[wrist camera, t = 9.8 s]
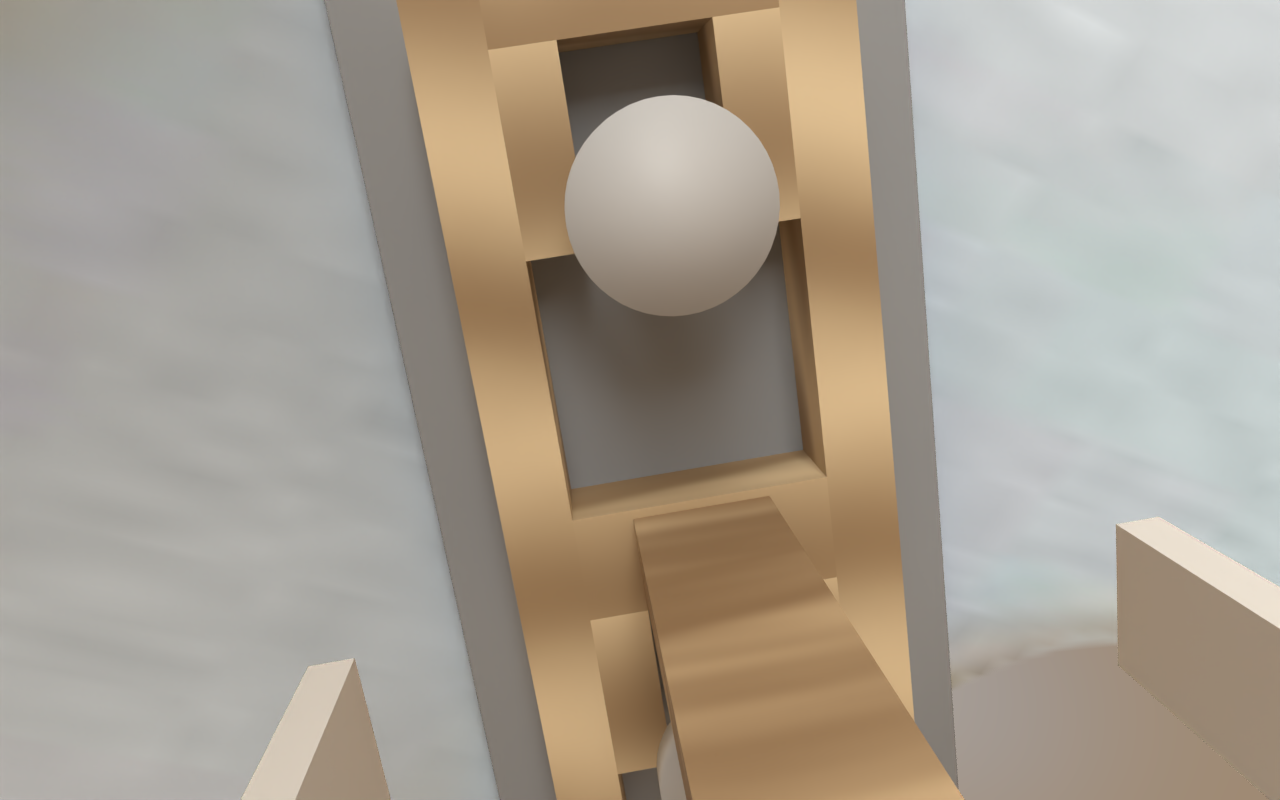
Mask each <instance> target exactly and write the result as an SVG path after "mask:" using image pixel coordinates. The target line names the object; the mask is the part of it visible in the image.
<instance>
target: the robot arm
mask: <svg viewBox="0 0 1280 800" xmlns="http://www.w3.org/2000/svg"><path fill="white" fill-rule="evenodd" d="M1116 554H1117V621H1118V666H1120V667H1121V668H1122V669H1123V670H1124V671H1125V672H1126V673H1127V674H1128V675H1130V676H1131V677H1132V678H1133V679H1134V680H1135V681H1136V682H1138V683H1139V684H1140V685H1141V686H1142V687H1143V688H1144V689H1145V690H1146V691H1148V692H1149V693H1150V694H1151V695H1152V696H1153V697H1154V698H1155V699H1157V700H1158V701H1159V702H1160V703H1161V704H1162V705H1163V706H1164V707H1166V708H1167V709H1168V710H1169V711H1170V712H1171V713H1172V714H1173V715H1175V716H1176V717H1177V718H1178V719H1179V720H1180V721H1181V722H1182V723H1184V724H1185V725H1186V726H1187V727H1188V728H1189V729H1190V730H1192V731H1193V732H1194V733H1195V734H1196V735H1197V736H1198V737H1199V738H1201V739H1202V740H1203V741H1204V742H1205V743H1206V744H1207V745H1208V746H1209V747H1211V748H1212V749H1213V750H1214V751H1215V752H1216V753H1217V754H1219V755H1220V756H1221V757H1222V758H1223V759H1224V760H1225V761H1226V762H1227V763H1229V764H1230V765H1231V766H1232V767H1233V768H1234V769H1235V770H1236V771H1238V772H1239V773H1240V774H1241V775H1242V776H1243V777H1244V778H1245V779H1247V780H1248V781H1249V782H1250V783H1251V784H1252V785H1253V786H1254V787H1256V788H1257V789H1258V790H1259V791H1260V792H1261V793H1262V794H1263V795H1265V796H1266V797H1267V798H1268V799H1269V800H1280V587H1279V586H1277V585H1275V584H1274V583H1272V582H1270V581H1269V580H1267V579H1265V578H1263V577H1262V576H1260V575H1258V574H1256V573H1255V572H1253V571H1251V570H1250V569H1248V568H1246V567H1244V566H1243V565H1241V564H1239V563H1238V562H1236V561H1234V560H1232V559H1231V558H1229V557H1227V556H1225V555H1224V554H1222V553H1220V552H1219V551H1217V550H1215V549H1213V548H1212V547H1210V546H1208V545H1206V544H1205V543H1203V542H1201V541H1200V540H1198V539H1196V538H1194V537H1193V536H1191V535H1189V534H1188V533H1186V532H1184V531H1182V530H1181V529H1179V528H1177V527H1175V526H1174V525H1172V524H1170V523H1169V522H1167V521H1165V520H1163V519H1162V518H1160V517H1155V518H1149V519H1143V520H1138V521H1132V522H1126V523H1121V524H1116ZM241 800H390V795H389V791H388V787H387V783H386V779H385V775H384V772H383V768H382V764H381V760H380V756H379V752H378V748H377V744H376V740H375V736H374V732H373V728H372V725H371V721H370V717H369V713H368V709H367V705H366V701H365V697H364V693H363V689H362V685H361V681H360V678H359V674H358V670H357V666H356V662H355V658H353V659H347V660H341V661H335V662H330V663H324V664H318V665H313V666H308V668H307V670H306V672H305V674H304V676H303V678H302V680H301V682H300V684H299V686H298V688H297V690H296V692H295V693H294V695H293V697H292V699H291V701H290V703H289V705H288V707H287V709H286V711H285V713H284V715H283V717H282V719H281V721H280V723H279V725H278V727H277V729H276V731H275V733H274V735H273V737H272V739H271V741H270V743H269V745H268V747H267V749H266V751H265V753H264V755H263V757H262V759H261V761H260V763H259V765H258V767H257V769H256V771H255V773H254V774H253V776H252V778H251V780H250V782H249V784H248V786H247V788H246V790H245V792H244V794H243V796H242V798H241Z"/></svg>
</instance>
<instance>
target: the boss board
mask: <svg viewBox="0 0 1280 800" xmlns="http://www.w3.org/2000/svg"><path fill="white" fill-rule="evenodd" d="M856 3H857V16H858V28H859V40H860V53H861V65H862V78H863V90H864V102H865V115H866V127H867V139H868V152H869V164H870V177H871V189H872V201H873V214H874V226H875V238H876V251H877V263H878V276H879V288H880V300H881V313H882V325H883V337H884V350H885V362H886V375H887V387H888V399H889V412H890V424H891V436H892V449H893V461H894V474H895V486H896V498H897V511H898V523H899V535H900V548H901V560H902V573H903V585H904V597H905V610H906V622H907V634H908V647H909V659H910V672H911V684H912V696H913V709H914V721H915V723H916V725H917V726H918V728H919V730H920V731H921V733H922V734H923V736H924V737H925V739H926V740H927V742H928V744H929V745H930V747H931V748H932V750H933V751H934V753H935V754H936V756H937V758H938V759H939V761H940V762H941V764H942V765H943V767H944V768H945V770H946V772H947V773H948V775H949V776H950V778H951V779H952V781H953V782H954V784H955V786H956V787H957V789H958V777H957V763H956V748H955V734H954V733H955V732H954V718H953V704H952V688H951V674H950V659H949V644H948V630H947V615H946V600H945V585H944V571H943V556H942V541H941V527H940V512H939V497H938V482H937V468H936V453H935V438H934V424H933V409H932V394H931V380H930V365H929V350H928V335H927V321H926V306H925V291H924V277H923V262H922V247H921V233H920V218H919V203H918V188H917V174H916V159H915V144H914V130H913V115H912V100H911V85H910V71H909V56H908V41H907V27H906V12H905V0H856ZM325 5H326V9H327V14H328V18H329V23H330V27H331V32H332V36H333V41H334V46H335V50H336V55H337V59H338V64H339V68H340V73H341V78H342V82H343V87H344V91H345V96H346V100H347V105H348V109H349V114H350V119H351V123H352V128H353V132H354V137H355V141H356V146H357V150H358V155H359V160H360V164H361V169H362V173H363V178H364V182H365V187H366V191H367V196H368V201H369V205H370V210H371V214H372V219H373V223H374V228H375V233H376V237H377V242H378V246H379V251H380V255H381V260H382V264H383V269H384V274H385V278H386V283H387V287H388V292H389V296H390V301H391V305H392V310H393V315H394V319H395V324H396V328H397V333H398V337H399V342H400V346H401V351H402V356H403V360H404V365H405V369H406V374H407V378H408V383H409V388H410V392H411V397H412V401H413V406H414V410H415V415H416V419H417V424H418V429H419V433H420V438H421V442H422V447H423V451H424V456H425V460H426V465H427V470H428V474H429V479H430V483H431V488H432V492H433V497H434V501H435V506H436V511H437V515H438V520H439V524H440V529H441V533H442V538H443V543H444V547H445V552H446V556H447V561H448V565H449V570H450V574H451V579H452V584H453V588H454V593H455V597H456V602H457V606H458V611H459V615H460V620H461V625H462V629H463V634H464V638H465V643H466V647H467V652H468V656H469V661H470V666H471V670H472V675H473V679H474V684H475V688H476V693H477V698H478V702H479V707H480V711H481V716H482V720H483V725H484V729H485V734H486V739H487V743H488V748H489V752H490V757H491V761H492V766H493V770H494V775H495V780H496V784H497V789H498V793H499V798H500V800H557V798H556V793H555V788H554V783H553V778H552V773H551V769H550V764H549V759H548V754H547V749H546V744H545V739H544V734H543V729H542V724H541V719H540V714H539V709H538V704H537V699H536V694H535V689H534V684H533V679H532V674H531V669H530V664H529V659H528V654H527V649H526V644H525V639H524V634H523V629H522V624H521V619H520V614H519V609H518V604H517V599H516V594H515V589H514V584H513V579H512V574H511V569H510V564H509V559H508V554H507V549H506V544H505V539H504V534H503V530H502V525H501V520H500V515H499V510H498V505H497V500H496V495H495V490H494V485H493V480H492V475H491V470H490V465H489V460H488V455H487V450H486V445H485V440H484V435H483V430H482V425H481V420H480V415H479V410H478V405H477V400H476V395H475V390H474V385H473V380H472V375H471V370H470V365H469V360H468V355H467V350H466V345H465V340H464V335H463V330H462V325H461V320H460V315H459V310H458V305H457V300H456V295H455V291H454V286H453V281H452V276H451V271H450V266H449V261H448V256H447V251H446V246H445V241H444V236H443V231H442V226H441V221H440V216H439V211H438V206H437V201H436V196H435V191H434V186H433V181H432V176H431V171H430V166H429V161H428V156H427V151H426V146H425V141H424V136H423V131H422V126H421V121H420V116H419V111H418V106H417V101H416V96H415V91H414V86H413V81H412V76H411V71H410V66H409V61H408V56H407V51H406V47H405V42H404V37H403V32H402V27H401V22H400V17H399V12H398V7H397V2H396V0H325ZM559 59H560V65H561V72H562V78H563V84H564V90H565V96H566V103H567V109H568V115H569V121H570V128H571V134H572V140H573V146H574V152H575V160H574V162H573V164H572V167H571V169H570V173H569V176H568V180H567V184H566V191H565V206H564V209H565V219H566V227H567V231H568V236H569V240H570V243H571V245H572V248H573V251H574V253H575V254H570V255H564V256H557V257H551V258H545V259H538V260H532V261H531V266H532V271H533V277H534V283H535V288H536V294H537V299H538V305H539V311H540V316H541V322H542V328H543V333H544V339H545V344H546V350H547V356H548V361H549V367H550V373H551V378H552V384H553V389H554V395H555V401H556V406H557V412H558V418H559V423H560V429H561V434H562V440H563V446H564V451H565V457H566V462H567V468H568V474H569V479H570V485H571V489H575V488H581V487H587V486H593V485H599V484H605V483H611V482H616V481H622V480H628V479H634V478H640V477H646V476H652V475H658V474H664V473H670V472H675V471H681V470H687V469H693V468H699V467H705V466H711V465H717V464H723V463H729V462H734V461H740V460H746V459H752V458H758V457H764V456H770V455H776V454H782V453H788V452H794V451H799V450H803V444H802V434H801V425H800V416H799V406H798V397H797V388H796V379H795V369H794V360H793V351H792V341H791V332H790V323H789V313H788V304H787V295H786V285H785V276H784V267H783V257H782V248H781V239H780V229H779V211H780V198H779V188H778V182H777V177H776V174H775V171H774V167H773V164H772V162H771V160H770V158H769V155H768V153H767V151H766V150H765V148H764V146H763V145H762V143H761V142H760V140H759V139H758V137H757V136H756V135H755V134H754V132H753V131H752V130H751V129H750V128H749V127H748V126H747V125H746V124H745V123H744V122H743V121H742V120H741V119H739V118H738V117H737V116H735V115H734V114H732V113H731V112H730V111H728V110H726V109H724V108H722V107H721V106H719V105H717V104H715V103H712V102H709V101H706V100H705V92H704V84H703V75H702V67H701V59H700V51H699V43H698V35H697V32H696V33H689V34H682V35H676V36H669V37H662V38H655V39H648V40H642V41H635V42H628V43H621V44H614V45H608V46H601V47H594V48H587V49H581V50H574V51H567V52H560V53H559ZM648 613H649V611H648ZM649 619H650V616H649ZM650 625H651V621H650ZM651 632H652V638H653V644H654V650H655V657H656V663H657V669H658V675H659V681H660V688H661V694H662V700H663V706H664V713H665V719H666V725H667V728H666V730H665V732H664V734H663V736H662V739H661V742H660V744H659V749H658V753H657V767H655V768H649V769H644V770H639V771H633V772H628V773H622V777H623V783H624V789H625V794H626V800H686V795H685V790H684V785H683V780H682V775H681V770H680V765H679V760H678V755H677V750H676V745H675V740H674V735H673V730H672V725H671V720H670V715H669V710H668V705H667V700H666V695H665V690H664V685H663V680H662V675H661V671H660V666H659V661H658V656H657V651H656V646H655V641H654V636H653V631H652V626H651Z"/></svg>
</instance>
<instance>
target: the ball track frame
mask: <svg viewBox="0 0 1280 800" xmlns="http://www.w3.org/2000/svg"><path fill="white" fill-rule="evenodd" d="M396 2H397V7H398V12H399V17H400V22H401V27H402V32H403V37H404V42H405V47H406V51H407V56H408V61H409V66H410V71H411V76H412V81H413V86H414V91H415V96H416V101H417V106H418V111H419V116H420V121H421V126H422V131H423V136H424V141H425V146H426V151H427V156H428V161H429V166H430V171H431V176H432V181H433V186H434V191H435V196H436V201H437V206H438V211H439V216H440V221H441V226H442V231H443V236H444V241H445V246H446V251H447V256H448V261H449V266H450V271H451V276H452V281H453V286H454V291H455V295H456V300H457V305H458V310H459V315H460V320H461V325H462V330H463V335H464V340H465V345H466V350H467V355H468V360H469V365H470V370H471V375H472V380H473V385H474V390H475V395H476V400H477V405H478V410H479V415H480V420H481V425H482V430H483V435H484V440H485V445H486V450H487V455H488V460H489V465H490V470H491V475H492V480H493V485H494V490H495V495H496V500H497V505H498V510H499V515H500V520H501V525H502V530H503V534H504V539H505V544H506V549H507V554H508V559H509V564H510V569H511V574H512V579H513V584H514V589H515V594H516V599H517V604H518V609H519V614H520V619H521V624H522V629H523V634H524V639H525V644H526V649H527V654H528V659H529V664H530V669H531V674H532V679H533V684H534V689H535V694H536V699H537V704H538V709H539V714H540V719H541V724H542V729H543V734H544V739H545V744H546V749H547V754H548V759H549V764H550V769H551V773H552V778H553V783H554V788H555V793H556V798H557V800H626V794H625V789H624V783H623V777H622V773H628V772H633V771H639V770H644V769H649V768H655V767H657V753H658V749H659V744H660V742H661V739H662V736H663V734H664V732H665V730H666V728H667V725H666V719H665V713H664V706H663V700H662V694H661V688H660V681H659V675H658V669H657V663H656V657H655V650H654V644H653V638H652V632H651V626H652V631H653V636H654V641H655V646H656V651H657V656H658V661H659V666H660V671H661V675H662V680H663V685H664V690H665V695H666V700H667V705H668V710H669V715H670V720H671V725H672V730H673V735H674V740H675V745H676V750H677V755H678V760H679V765H680V770H681V775H682V780H683V785H684V790H685V795H686V800H964V798H963V796H962V795H961V793H960V792H959V790H958V789H957V787H956V786H955V784H954V782H953V781H952V779H951V778H950V776H949V775H948V773H947V772H946V770H945V768H944V767H943V765H942V764H941V762H940V761H939V759H938V758H937V756H936V754H935V753H934V751H933V750H932V748H931V747H930V745H929V744H928V742H927V740H926V739H925V737H924V736H923V734H922V733H921V731H920V730H919V728H918V726H917V725H916V723H915V721H914V709H913V696H912V684H911V672H910V659H909V647H908V634H907V622H906V610H905V597H904V585H903V573H902V560H901V548H900V535H899V523H898V511H897V498H896V486H895V474H894V461H893V449H892V436H891V424H890V412H889V399H888V387H887V375H886V362H885V350H884V337H883V325H882V313H881V300H880V288H879V276H878V263H877V251H876V238H875V226H874V214H873V201H872V189H871V177H870V164H869V152H868V139H867V127H866V115H865V102H864V90H863V78H862V65H861V53H860V40H859V28H858V16H857V3H856V0H396ZM696 32H697V35H698V43H699V51H700V59H701V67H702V75H703V84H704V92H705V100H706V101H709V102H712V103H715V104H717V105H719V106H721V107H722V108H724V109H726V110H728V111H730V112H731V113H732V114H734V115H735V116H737V117H738V118H739V119H741V120H742V121H743V122H744V123H745V124H746V125H747V126H748V127H749V128H750V129H751V130H752V131H753V132H754V134H755V135H756V136H757V137H758V139H759V140H760V142H761V143H762V145H763V146H764V148H765V150H766V151H767V153H768V155H769V158H770V160H771V162H772V164H773V167H774V171H775V174H776V177H777V182H778V188H779V198H780V211H779V229H780V239H781V248H782V257H783V267H784V276H785V285H786V295H787V304H788V313H789V323H790V332H791V341H792V351H793V360H794V369H795V379H796V388H797V397H798V406H799V416H800V425H801V434H802V444H803V450H799V451H794V452H788V453H782V454H776V455H770V456H764V457H758V458H752V459H746V460H740V461H734V462H729V463H723V464H717V465H711V466H705V467H699V468H693V469H687V470H681V471H675V472H670V473H664V474H658V475H652V476H646V477H640V478H634V479H628V480H622V481H616V482H611V483H605V484H599V485H593V486H587V487H581V488H575V489H571V485H570V479H569V474H568V468H567V462H566V457H565V451H564V446H563V440H562V434H561V429H560V423H559V418H558V412H557V406H556V401H555V395H554V389H553V384H552V378H551V373H550V367H549V361H548V356H547V350H546V344H545V339H544V333H543V328H542V322H541V316H540V311H539V305H538V299H537V294H536V288H535V283H534V277H533V271H532V266H531V261H532V260H538V259H545V258H551V257H557V256H564V255H570V254H575V253H574V251H573V248H572V245H571V243H570V240H569V236H568V231H567V227H566V219H565V209H564V206H565V191H566V184H567V180H568V176H569V173H570V169H571V167H572V164H573V162H574V160H575V152H574V146H573V140H572V134H571V128H570V121H569V115H568V109H567V103H566V96H565V90H564V84H563V78H562V72H561V65H560V59H559V53H560V52H567V51H574V50H581V49H587V48H594V47H601V46H608V45H614V44H621V43H628V42H635V41H642V40H648V39H655V38H662V37H669V36H676V35H682V34H689V33H696ZM648 611H649V613H648ZM649 616H650V619H649ZM650 621H651V625H650Z"/></svg>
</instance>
